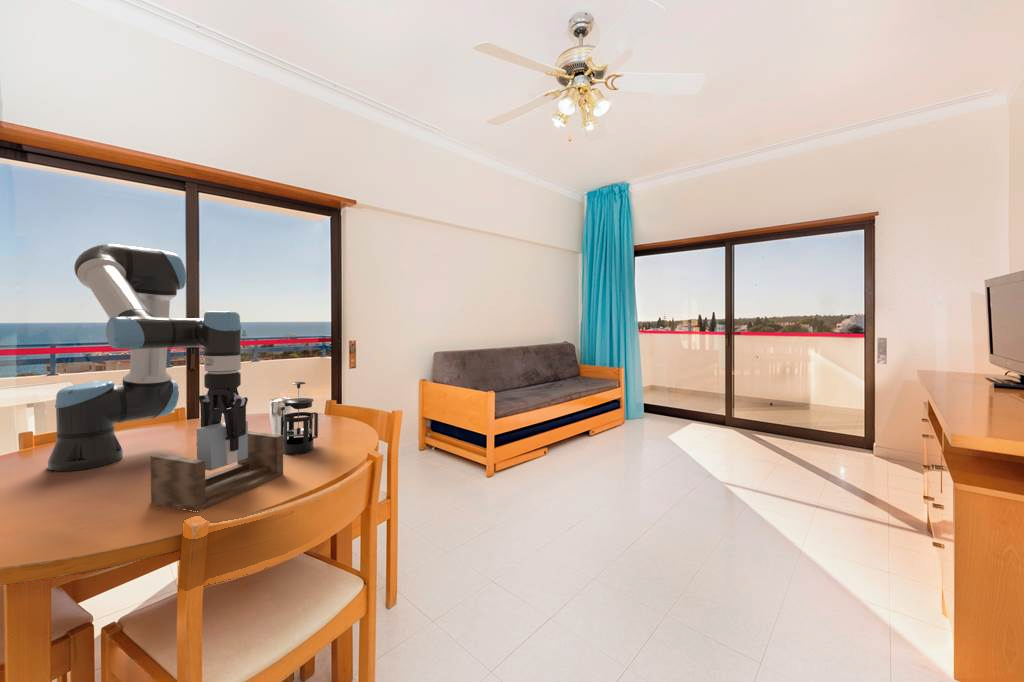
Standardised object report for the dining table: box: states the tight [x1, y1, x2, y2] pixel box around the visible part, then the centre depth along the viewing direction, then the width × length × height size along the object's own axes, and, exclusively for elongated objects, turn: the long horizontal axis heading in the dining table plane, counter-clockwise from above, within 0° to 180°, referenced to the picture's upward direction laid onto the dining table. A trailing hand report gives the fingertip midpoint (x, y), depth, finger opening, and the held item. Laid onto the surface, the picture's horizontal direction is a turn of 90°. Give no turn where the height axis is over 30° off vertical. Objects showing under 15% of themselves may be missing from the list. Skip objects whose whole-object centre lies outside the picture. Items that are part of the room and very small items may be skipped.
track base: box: [150, 430, 284, 513], centre depth 104 cm, size 14×24×11 cm, turn 165°
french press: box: [283, 381, 319, 456], centre depth 134 cm, size 12×9×23 cm
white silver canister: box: [268, 397, 293, 441], centre depth 144 cm, size 7×7×15 cm
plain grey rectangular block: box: [196, 420, 249, 471], centre depth 103 cm, size 4×10×10 cm, turn 165°
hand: (223, 461), depth 103 cm, fingers closed on plain grey rectangular block, 4 cm apart
